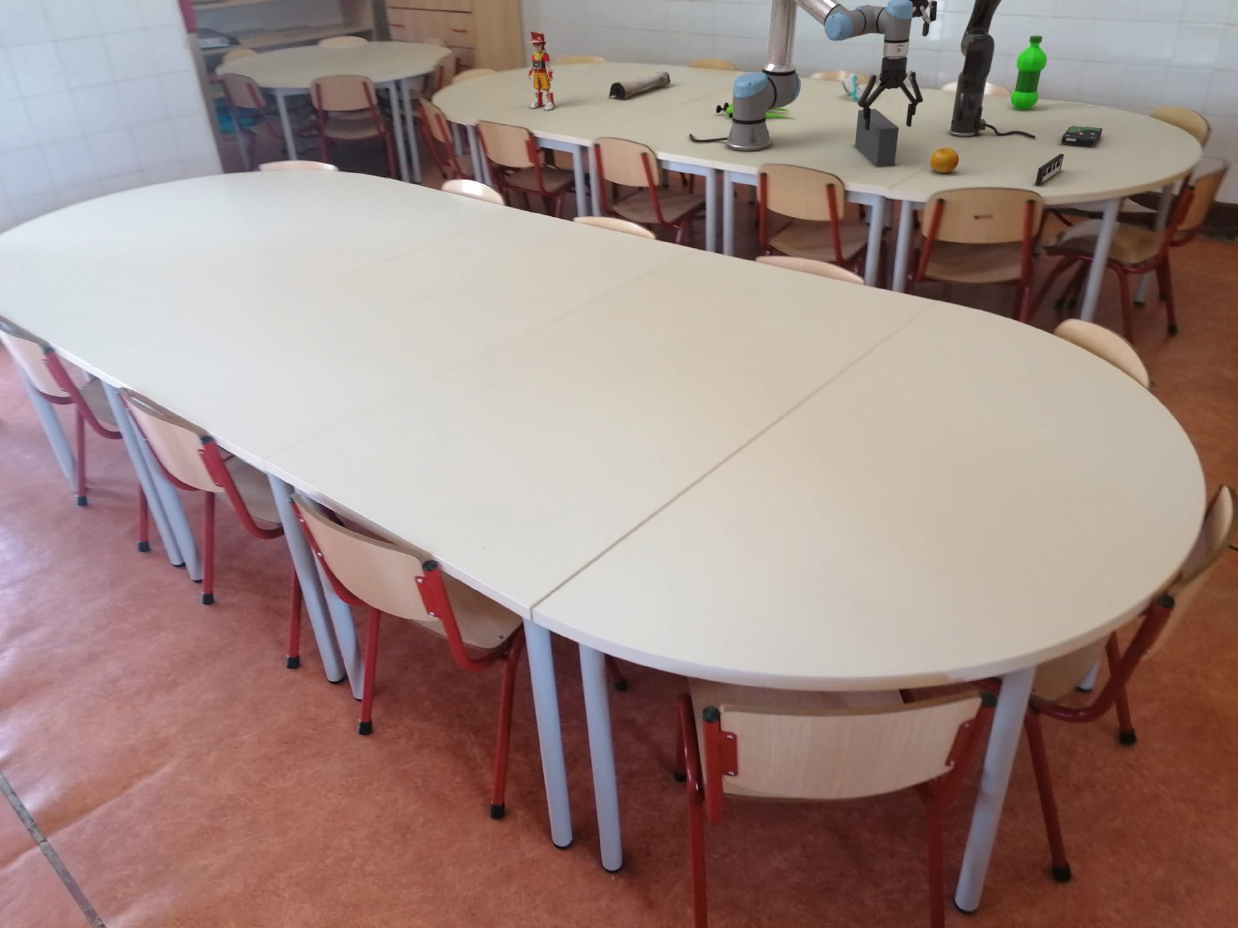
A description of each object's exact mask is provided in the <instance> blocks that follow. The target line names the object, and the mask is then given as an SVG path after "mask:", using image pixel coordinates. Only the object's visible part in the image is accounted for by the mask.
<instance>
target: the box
mask: <svg viewBox="0 0 1238 928" xmlns="http://www.w3.org/2000/svg"><path fill="white" fill-rule="evenodd" d="M870 109H871V115H870V126H869V130H866V129H865V128H864V127H865V119H863V109H858V111H857V120H856V129H855V130H856V132H855V141H854V146H855V148H857V149H858V150H859V151H860V152H861V153H862V154H863V155H864V157H866V158H867V159H868V160H869V161H870V162H871V163H872V164H873V165H874V166H875V167H892V166H895V165H896V155H897V148H898V138H899V130H900V127H899V126H897V124H895V123H893V122H892V121H891V120H890V119H889V118H888V117H886V116H885V115H884V114H883V113H881V112H880V111H879V110H878V109H876V108H870Z"/></svg>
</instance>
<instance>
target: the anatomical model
mask: <svg viewBox="0 0 1238 928" xmlns="http://www.w3.org/2000/svg"><path fill="white" fill-rule="evenodd" d="M857 80H858V76H857V75H856V74H854V72H850V73H849V75H848V77H845V78H842V79H841V84H842V88H843V89H844V92H845V93H846V94H849V95H851V97H852V99H853V100H854V101H855V102H859V100H860V98H861V96H862V94H863V92H864V90H865V89H866V87H867V85H866V86H864V87H862V88H859V86H860V84H861V82H862V80H858V81H857ZM870 96H871V95H869V96H868V98H869V97H870ZM868 98H867V99H868Z"/></svg>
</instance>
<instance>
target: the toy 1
mask: <svg viewBox="0 0 1238 928" xmlns="http://www.w3.org/2000/svg"><path fill="white" fill-rule="evenodd" d="M529 33H530V35H531V36H528V37H527V38H528V39H529V40H528V41H527V43H529V44H530V43H531V44H532V48H533V50H534V51H533V52H532V55H531V58H530V59H531V63H530V66H528V74H527V75H528V76H527V77H528V79H529V80H531V75H532V74H533V84H532V85H533V86H532V87H533V88H534V89H535V90H536V92H534V95H535V97H536V100H535V101H533V102H531V105H530V108H531V109H535V108H538V107H542V106H544V101H543V100H544V99H543V95H544V92H546V94H545V97H546V99H547V103H546V104H545V106H544V110H546V111H549V110H553V109H554V107H555V106H556V105H555V99H554V92H551V91H550V90H551V86H552V84H551V82H552V81H553V80H554V77H553V73H554V71H555V70H554V69H552V68H551V63H550V61H551V59H550V58H551V57H550V54H549V53H548V52H547V50H546V48H545V46H546V44H547V41H545V35H544V33H543V32H542V33H539V32H535V31H529Z"/></svg>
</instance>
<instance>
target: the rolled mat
mask: <svg viewBox="0 0 1238 928" xmlns="http://www.w3.org/2000/svg"><path fill="white" fill-rule="evenodd" d="M671 83H672V81H671V77H670V74H669V72H668V71H658V72H654V73H649V74H645V75H640V76H637V77H633V78H628V79H623V80H620V81H616V82H613V83H612V84H611V85H610V89H609V95H608V97H609V98H611V97H616V99H620V100H622V101H623V100H626V99H627V98H629V97H630V96H632V95H635V94H636V93H638V92H640V91H643V90H644V89H647V88H650V87H655V86H658V87H659V86H661V87H665V86H669V85H670V84H671Z"/></svg>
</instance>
